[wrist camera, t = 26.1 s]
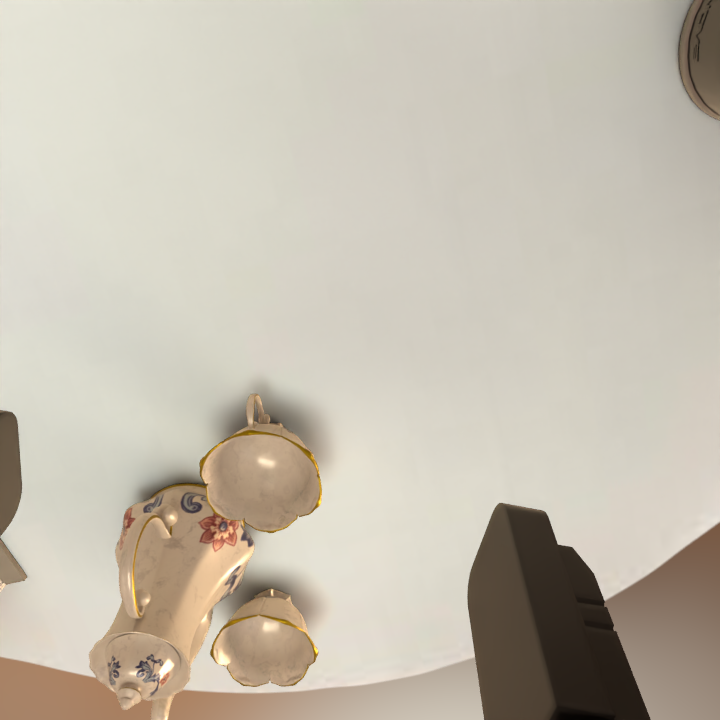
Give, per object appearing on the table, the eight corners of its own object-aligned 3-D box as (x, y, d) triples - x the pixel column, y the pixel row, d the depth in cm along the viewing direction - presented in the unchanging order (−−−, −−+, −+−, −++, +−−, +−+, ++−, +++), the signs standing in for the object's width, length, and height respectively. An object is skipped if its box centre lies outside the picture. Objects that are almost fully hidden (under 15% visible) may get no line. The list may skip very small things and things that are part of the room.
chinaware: (333, 627, 59) (344, 819, 44) (156, 644, 58) (106, 846, 43) (313, 366, 47) (319, 512, 32) (87, 381, 46) (-16, 540, 31)
